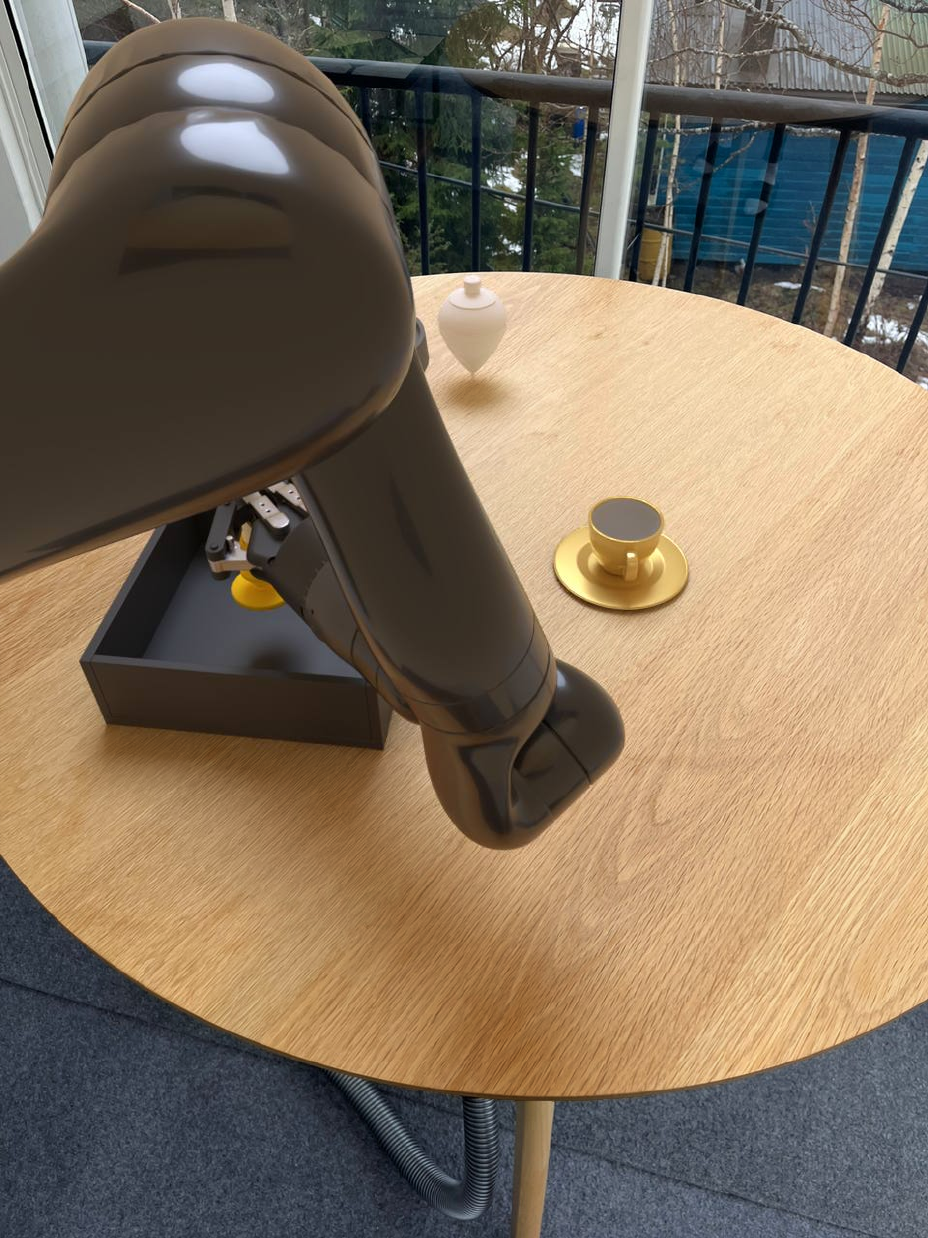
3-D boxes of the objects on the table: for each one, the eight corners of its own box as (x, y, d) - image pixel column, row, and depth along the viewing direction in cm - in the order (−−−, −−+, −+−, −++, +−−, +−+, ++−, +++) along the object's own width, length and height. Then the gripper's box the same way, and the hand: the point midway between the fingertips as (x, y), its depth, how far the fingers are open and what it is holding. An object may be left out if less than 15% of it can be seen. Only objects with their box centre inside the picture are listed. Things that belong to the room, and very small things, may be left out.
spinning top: (443, 361, 111) (440, 261, 102) (507, 363, 110) (510, 263, 102) (436, 395, 105) (432, 293, 97) (504, 398, 105) (506, 295, 96)
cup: (547, 526, 88) (550, 478, 85) (674, 523, 88) (683, 476, 85) (558, 614, 80) (562, 566, 76) (699, 611, 80) (710, 563, 76)
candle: (278, 559, 76) (243, 387, 65) (311, 592, 73) (280, 418, 62) (220, 586, 74) (174, 413, 63) (252, 621, 71) (208, 446, 60)
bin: (105, 723, 72) (78, 661, 67) (198, 544, 87) (181, 482, 82) (383, 750, 70) (376, 687, 65) (428, 561, 85) (425, 499, 80)
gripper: (440, 505, 60) (301, 396, 70) (256, 593, 54) (133, 460, 64) (444, 592, 65) (315, 479, 75) (276, 681, 59) (160, 545, 69)
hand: (231, 470), depth 70 cm, fingers closed
